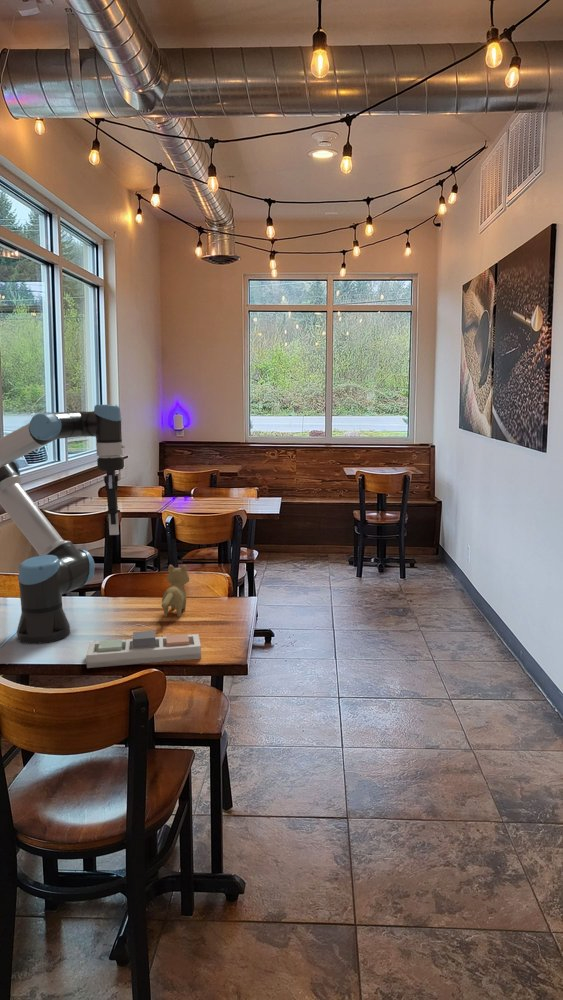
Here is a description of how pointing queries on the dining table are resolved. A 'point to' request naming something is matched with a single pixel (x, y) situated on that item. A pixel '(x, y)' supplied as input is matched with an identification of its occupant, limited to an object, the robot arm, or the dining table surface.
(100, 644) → the key sage
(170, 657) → the keypad
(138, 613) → the dining table surface
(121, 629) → the flat thin panel
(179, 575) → the toy
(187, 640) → the key terracotta
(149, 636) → the key charcoal
